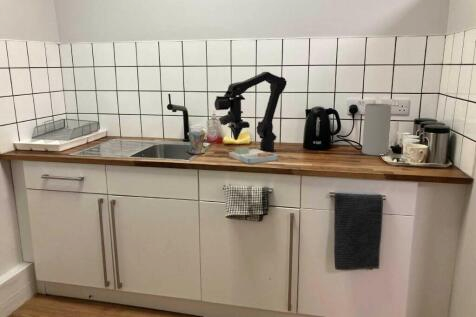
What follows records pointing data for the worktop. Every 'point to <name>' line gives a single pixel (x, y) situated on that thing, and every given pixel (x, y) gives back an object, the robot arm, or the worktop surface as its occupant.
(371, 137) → the cylinder vase
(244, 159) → the tray
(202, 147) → the mug
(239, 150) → the sage tile
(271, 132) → the robot arm
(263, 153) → the terracotta tile
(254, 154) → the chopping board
